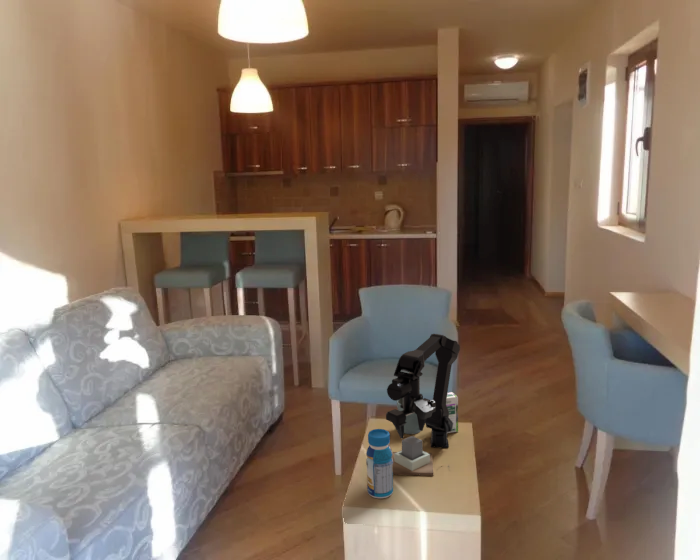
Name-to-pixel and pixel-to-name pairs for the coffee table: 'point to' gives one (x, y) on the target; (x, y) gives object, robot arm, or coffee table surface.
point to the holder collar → (412, 463)
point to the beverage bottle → (379, 464)
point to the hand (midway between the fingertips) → (411, 434)
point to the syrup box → (453, 410)
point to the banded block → (412, 448)
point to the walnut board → (421, 470)
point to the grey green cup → (409, 421)
